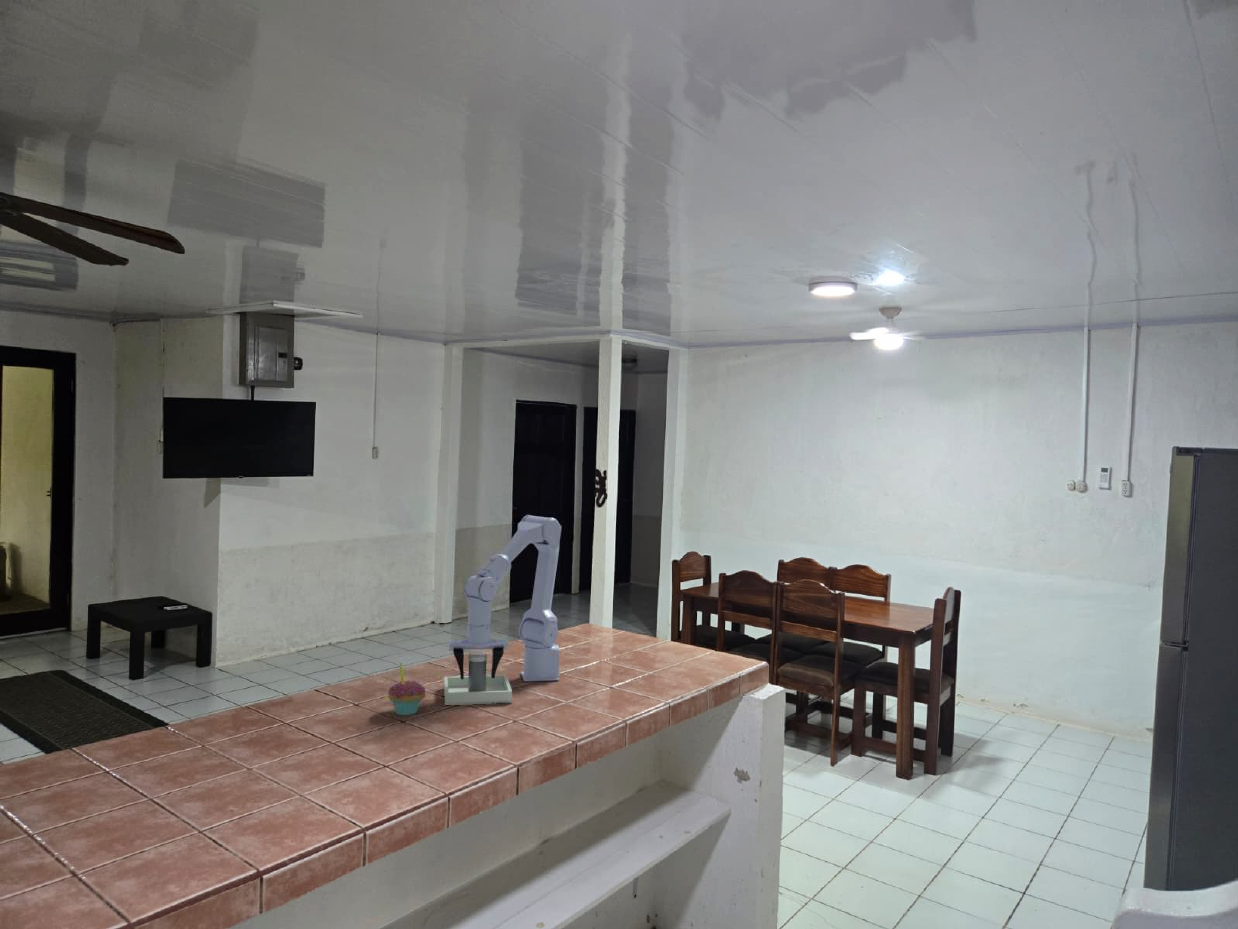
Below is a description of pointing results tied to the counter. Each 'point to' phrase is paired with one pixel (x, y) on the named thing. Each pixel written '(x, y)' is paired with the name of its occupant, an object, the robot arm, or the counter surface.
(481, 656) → the cylinder
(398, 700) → the cupcake
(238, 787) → the counter surface
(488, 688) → the tray
